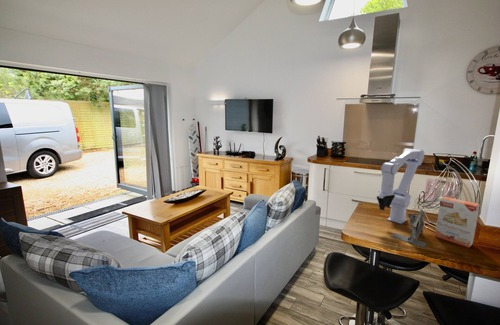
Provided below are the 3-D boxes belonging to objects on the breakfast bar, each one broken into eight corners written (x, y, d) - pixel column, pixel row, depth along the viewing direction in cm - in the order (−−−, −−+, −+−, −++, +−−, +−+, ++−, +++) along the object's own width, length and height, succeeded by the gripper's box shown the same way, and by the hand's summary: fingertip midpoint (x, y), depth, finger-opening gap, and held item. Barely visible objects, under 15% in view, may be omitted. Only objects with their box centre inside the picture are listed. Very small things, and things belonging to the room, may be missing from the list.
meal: (413, 231, 135) (416, 208, 133) (422, 234, 132) (426, 210, 130) (404, 239, 125) (407, 214, 123) (413, 242, 122) (417, 217, 120)
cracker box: (434, 237, 129) (440, 198, 125) (438, 234, 132) (444, 195, 129) (469, 248, 118) (476, 206, 114) (472, 244, 121) (480, 203, 117)
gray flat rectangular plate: (394, 233, 133) (394, 232, 133) (427, 243, 122) (427, 243, 122) (390, 236, 129) (390, 235, 129) (423, 247, 118) (423, 246, 118)
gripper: (385, 181, 145) (382, 203, 148) (374, 185, 136) (371, 208, 138) (398, 183, 140) (395, 207, 142) (388, 187, 131) (385, 212, 133)
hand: (384, 208), depth 140 cm, fingers open, 7 cm apart
